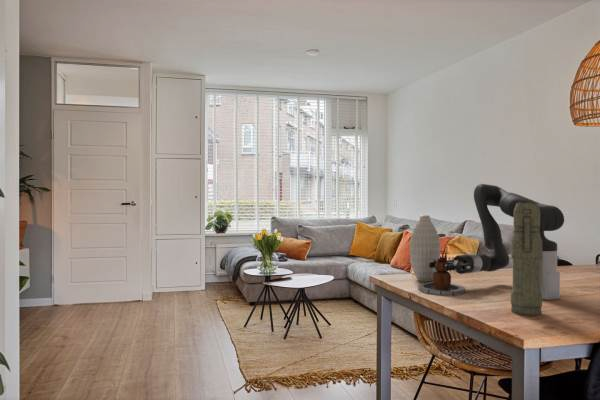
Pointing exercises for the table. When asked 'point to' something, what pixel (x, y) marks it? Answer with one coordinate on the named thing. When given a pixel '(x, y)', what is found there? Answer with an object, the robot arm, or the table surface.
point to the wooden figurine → (441, 274)
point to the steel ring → (426, 286)
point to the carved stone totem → (526, 260)
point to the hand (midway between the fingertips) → (437, 266)
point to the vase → (424, 248)
